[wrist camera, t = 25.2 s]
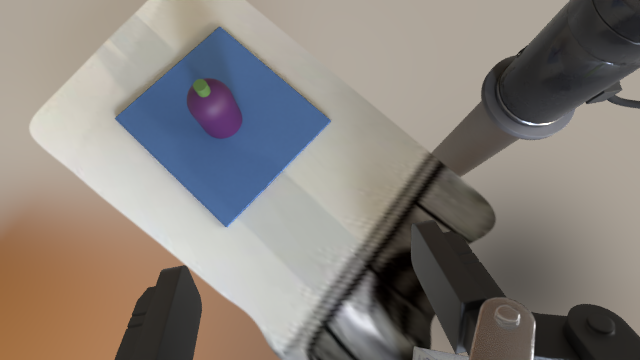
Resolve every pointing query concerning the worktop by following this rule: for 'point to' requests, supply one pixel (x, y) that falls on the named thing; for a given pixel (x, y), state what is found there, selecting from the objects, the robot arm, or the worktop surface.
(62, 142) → the worktop surface
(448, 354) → the medicine box
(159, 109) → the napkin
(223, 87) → the eggplant
